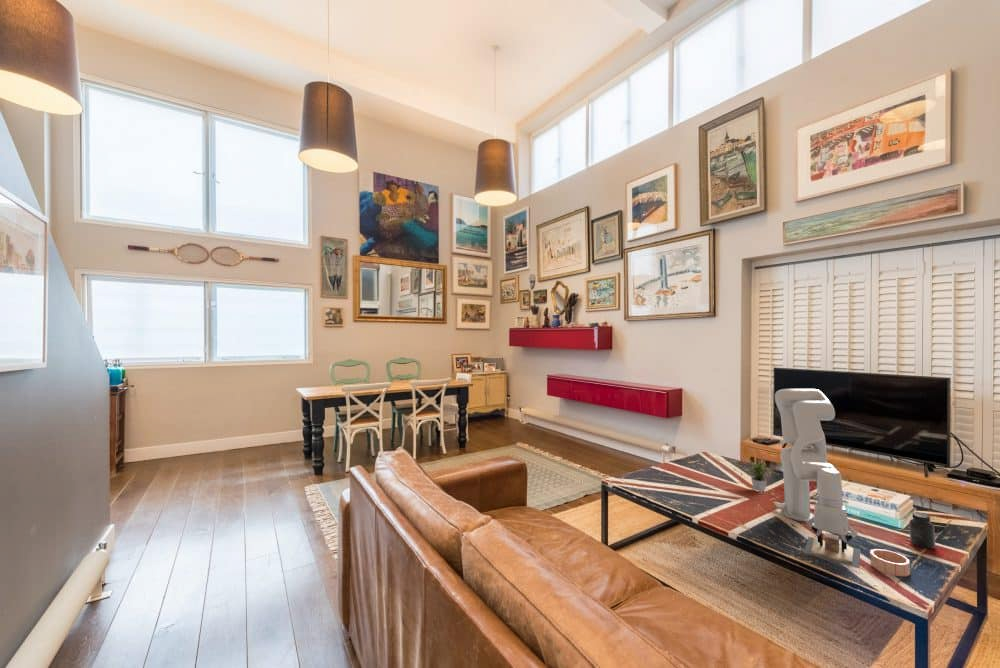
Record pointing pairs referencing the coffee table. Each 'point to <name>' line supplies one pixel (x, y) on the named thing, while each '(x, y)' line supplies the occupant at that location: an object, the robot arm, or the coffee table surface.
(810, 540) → the mat
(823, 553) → the lid
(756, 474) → the house plant
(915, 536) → the supplement bottle
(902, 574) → the bowl
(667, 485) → the coffee table surface
